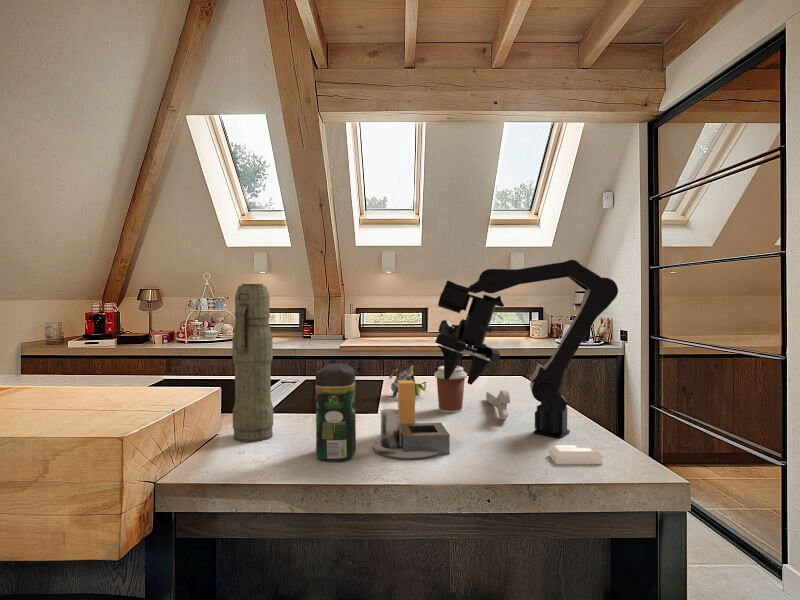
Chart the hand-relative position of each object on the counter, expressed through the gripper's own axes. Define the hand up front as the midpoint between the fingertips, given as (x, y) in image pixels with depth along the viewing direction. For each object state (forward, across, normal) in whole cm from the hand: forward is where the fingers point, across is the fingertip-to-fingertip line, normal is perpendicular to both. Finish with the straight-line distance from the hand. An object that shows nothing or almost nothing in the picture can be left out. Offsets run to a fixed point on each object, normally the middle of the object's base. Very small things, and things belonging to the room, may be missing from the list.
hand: (457, 381), depth 123 cm
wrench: (+7, -25, -3) cm, 26 cm away
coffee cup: (+10, -17, -12) cm, 24 cm away
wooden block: (+15, +7, -5) cm, 17 cm away
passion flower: (+14, -21, -32) cm, 41 cm away
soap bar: (+6, -3, +31) cm, 32 cm away
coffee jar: (+20, +28, -2) cm, 35 cm away
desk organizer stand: (+15, +15, +4) cm, 22 cm away
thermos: (+26, +33, -25) cm, 49 cm away
